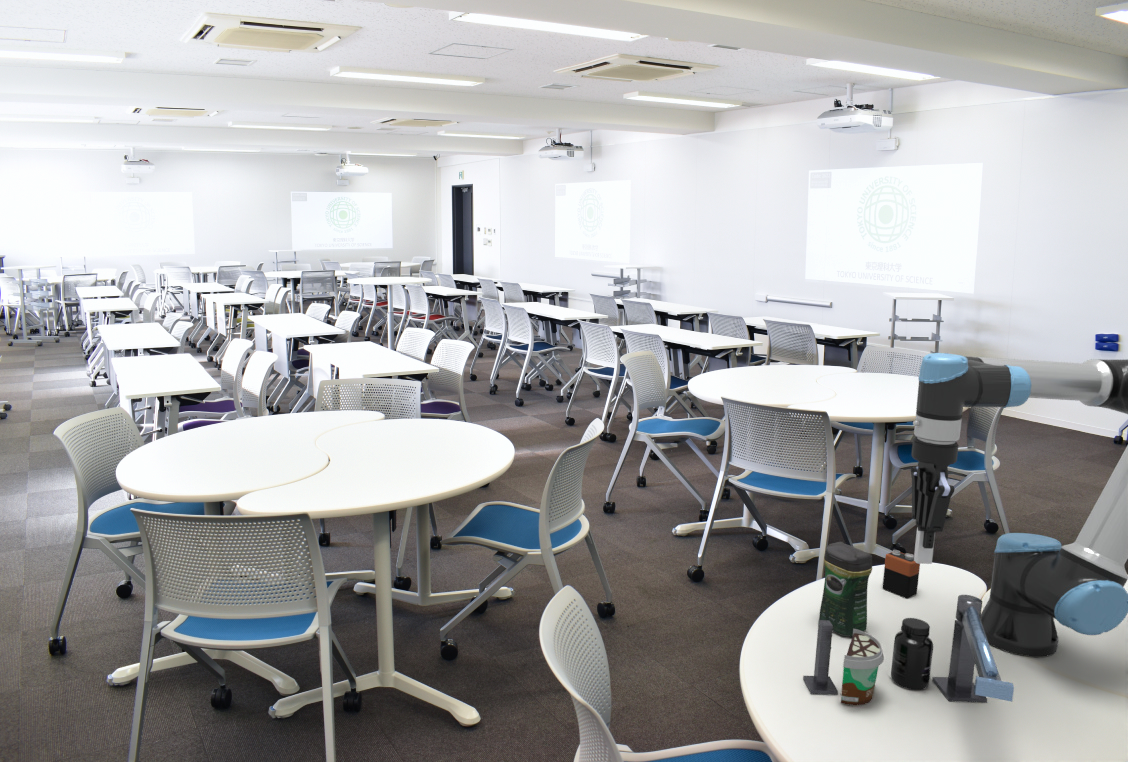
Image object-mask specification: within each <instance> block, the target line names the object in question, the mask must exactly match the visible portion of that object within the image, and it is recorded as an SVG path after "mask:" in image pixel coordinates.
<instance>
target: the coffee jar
mask: <svg viewBox="0 0 1128 762" xmlns="http://www.w3.org/2000/svg"><path fill="white" fill-rule="evenodd" d="M823 564H824V571H825V572H824V583H823V590H822V591H823V592H822V597H821V601H820V602H821V604H820V609H819V615H818V621H819V620H827V621H830V622H831V624H832V625H833V630H832V632H834V633H836V634H839V635H840V636H842V637H843V636H844V637H853V629H857V630H860V631H863V632H865V633H866V631H867V627H868V624H867V623H868V586H869V578H870V575H871V573H872V572H873V556H872V554H871V553H869V552H867V551H865V550H862V549H860V548H857V547H855V546H852V545H849V544H846V543H844V542H843V541H837V542H833V543H829V544H828V545H827V547H826V549H825V554H824V557H823Z"/></svg>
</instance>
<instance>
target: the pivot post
mask: <svg viewBox="0 0 1128 762" xmlns="http://www.w3.org/2000/svg"><path fill="white" fill-rule="evenodd" d="M951 642H952V643H951V644H952V645H951V649H950V661H949V669H948V675H947V676H932V677H931V681H932V683H933V684H934V685H935V687H937V689H938V690H939V692H940V693H942V695H943V696H944V698H945V699H946V700H947V702H956V703H981V704H988V697H985V696H980V695H975V692H974V687H975V682H973V679H974V674H975V673H974V672H975V667H976V666H975V662H974V659H973V656H972V652H971V649H970V645H969V642H968V639H967V635H966V632H965V629H964V625H963V623H962V622H960V621H958V620H957V619H955V620H954V625H953V634H952V641H951Z"/></svg>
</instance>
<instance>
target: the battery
mask: <svg viewBox="0 0 1128 762" xmlns="http://www.w3.org/2000/svg"><path fill="white" fill-rule="evenodd" d="M920 567H921V564H918V563H916V562H915V561H914V554H912V553H903V552H901V551H900V550H897V549H893V550H892V552H889V553H886V554H885V559H884V569H883V577H882V578H883V579H882V589H883V590H885V591H887V592H890V593H892V594H895V595H897V596H899V595H900V596H899V597H902V598H904V597H905V599H909V598H912V597H914V596H916V595H917V594H918V587H919V577H920V569H921V568H920Z"/></svg>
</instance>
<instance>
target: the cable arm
mask: <svg viewBox="0 0 1128 762" xmlns="http://www.w3.org/2000/svg"><path fill="white" fill-rule="evenodd" d="M982 608H983V600H982V599H980V598H979V597H977V596H974V595H971V594H960V595H958V597H957V604H956V612H955V620H958V621H960V622H962V623H963V625H964V629H965V632H966V635H967V639H968V642H969V645H970V649H971V652H972V656H973V659H974V662H975V666H974V667H975V668H976V669H975V670H976V672H977V676H975V681H974V684H975V687H974V692H975V695H980V696H985V697H986V698H991V699H996V700H1001V701H1007V702H1013V698H1014V691H1015V686H1014V683H1013V682H1009V681H1004V680H1002V679H1001V675H1000V672H999V670H998V666H997V664H996V661H995V657H994V655H993V652H992V649H991V647H990V646H991V645H990V644H989V643H988V640H987V637H986V634H985V632H984V629H983V626H982V623H981V620H980V617H981V613H982V610H983V609H982Z"/></svg>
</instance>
